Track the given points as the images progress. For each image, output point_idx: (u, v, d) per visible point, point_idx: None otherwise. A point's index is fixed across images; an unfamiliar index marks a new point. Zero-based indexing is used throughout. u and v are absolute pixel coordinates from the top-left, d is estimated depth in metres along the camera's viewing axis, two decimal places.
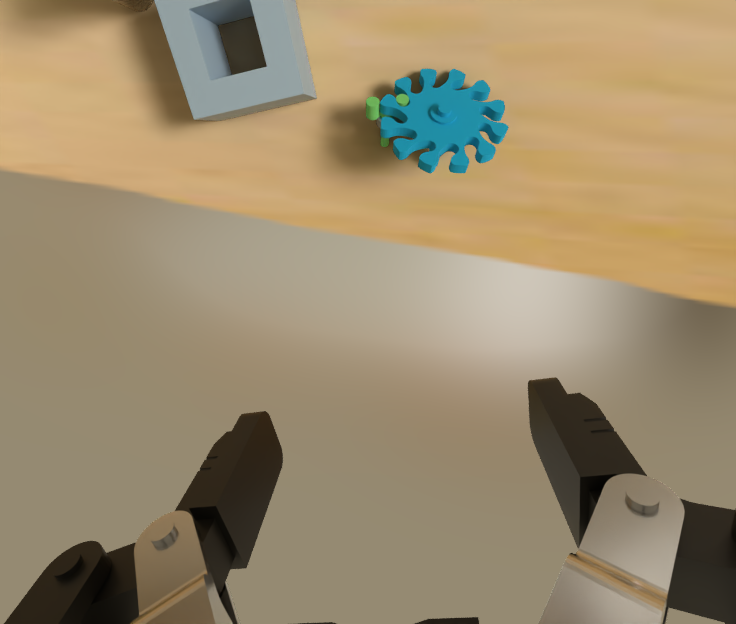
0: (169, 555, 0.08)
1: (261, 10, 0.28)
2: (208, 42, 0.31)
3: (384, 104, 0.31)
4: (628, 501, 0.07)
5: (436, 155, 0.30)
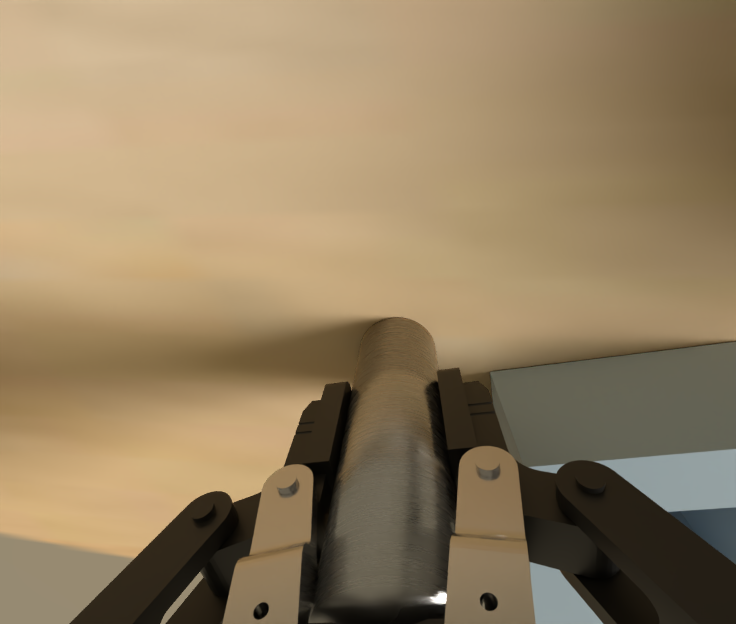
0: (285, 506, 0.09)
1: None
2: None
3: None
4: (475, 467, 0.09)
5: None
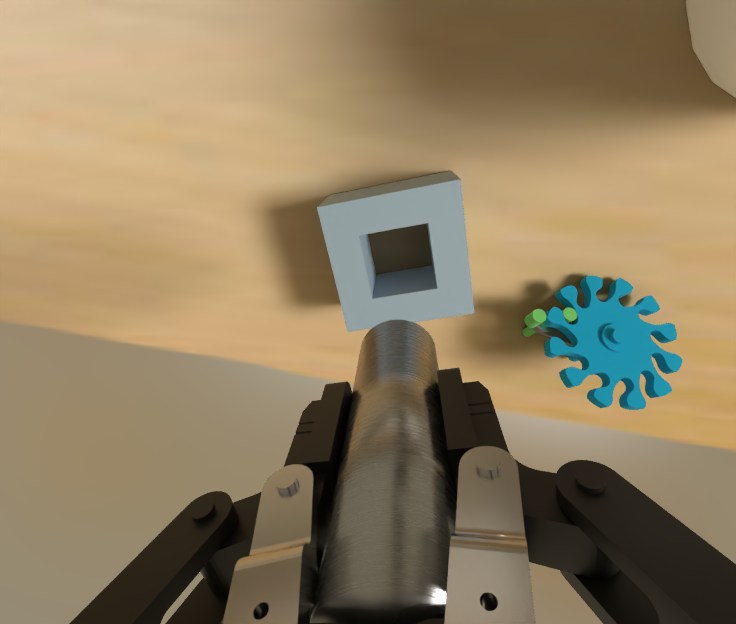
0: (285, 506, 0.09)
1: (440, 239, 0.26)
2: (366, 252, 0.28)
3: (552, 319, 0.29)
4: (475, 467, 0.09)
5: (611, 392, 0.28)
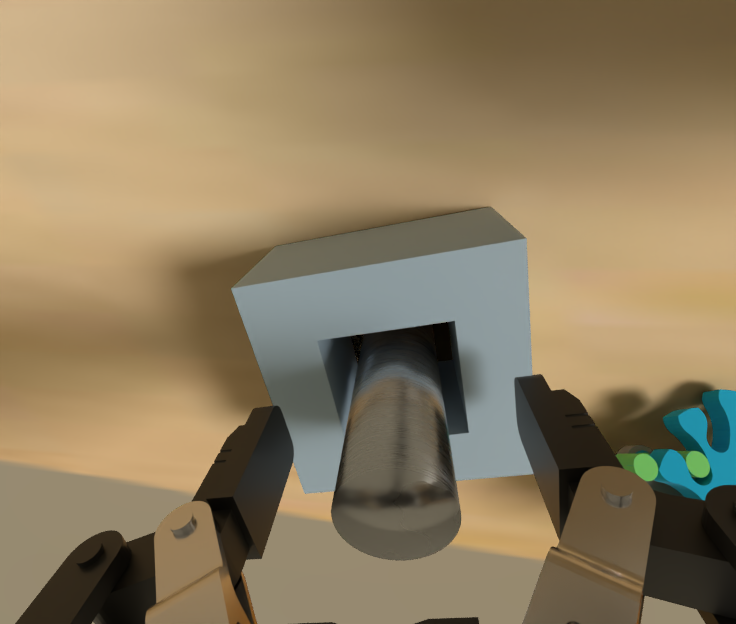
0: (186, 545, 0.08)
1: (479, 351, 0.13)
2: (337, 355, 0.16)
3: (668, 476, 0.16)
4: (603, 492, 0.07)
5: None
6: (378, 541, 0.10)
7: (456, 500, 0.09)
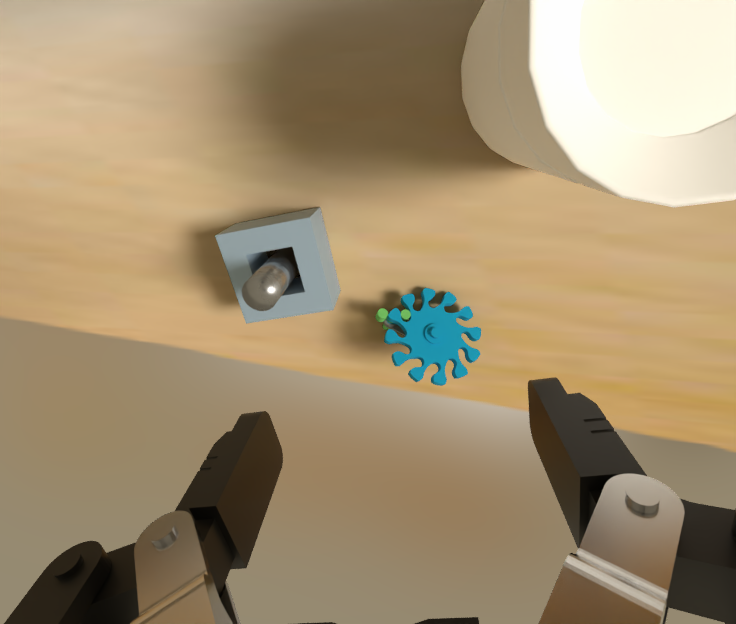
0: (169, 555, 0.08)
1: (302, 257, 0.37)
2: (258, 266, 0.40)
3: (391, 317, 0.40)
4: (628, 501, 0.07)
5: (423, 371, 0.39)
6: (256, 303, 0.34)
7: (274, 287, 0.33)
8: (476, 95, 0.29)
